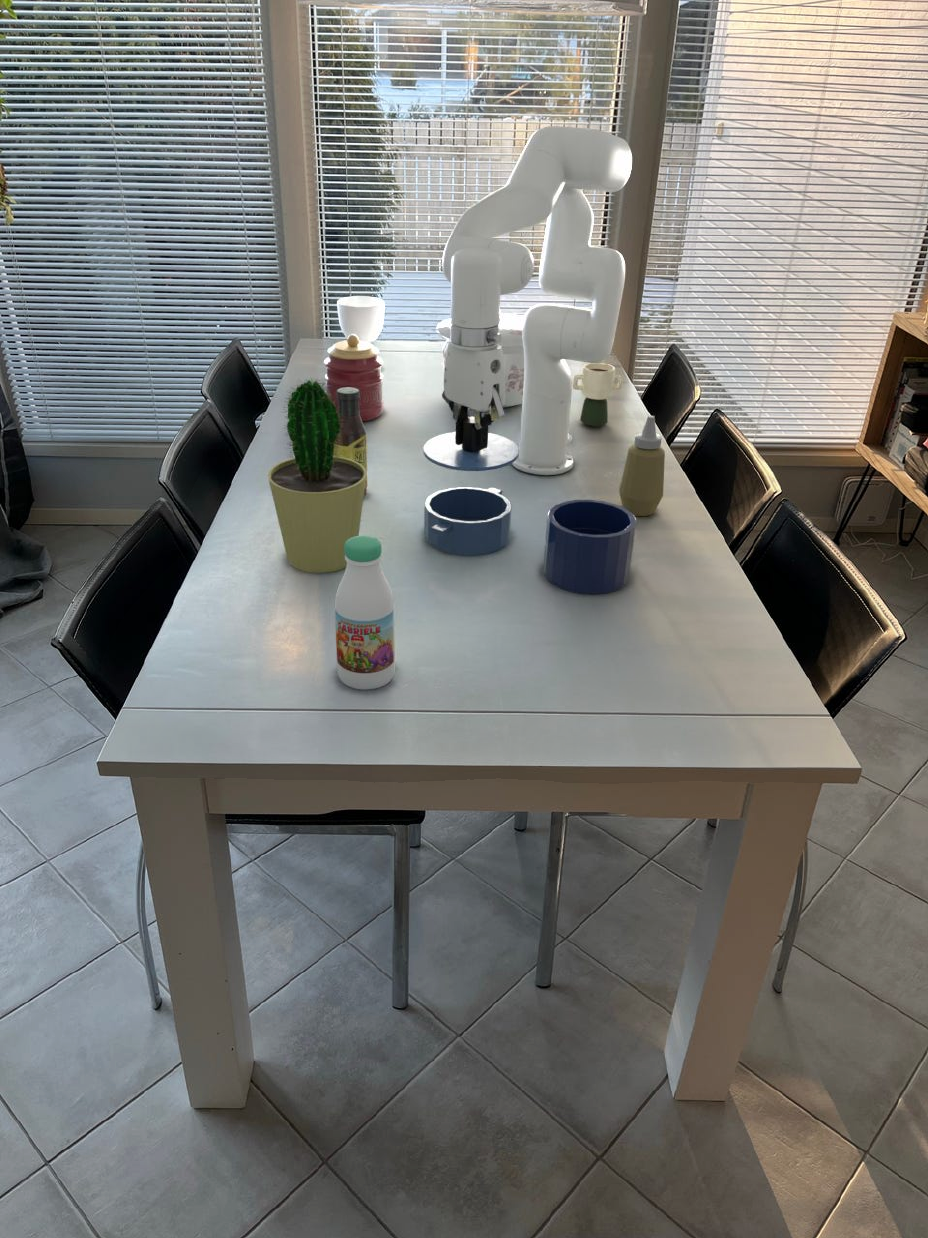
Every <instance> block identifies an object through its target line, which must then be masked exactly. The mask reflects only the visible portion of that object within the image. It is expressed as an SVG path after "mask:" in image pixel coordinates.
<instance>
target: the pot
mask: <svg viewBox="0 0 928 1238" xmlns="http://www.w3.org/2000/svg"><path fill="white" fill-rule="evenodd" d="M636 526H637V518H636V516H635V515H633V514H632V513H631V512H629V511H628V510H627V509H625V508H623V507H622V505H618V504H616V503H612V502H608V501H603V500H597V499H572V500H566V501H563V502H560V503H558V504H555V505H553V506H552V507H551V508H550V509H549V511H548V513H547V517H546V531H545V542H544V553H543V567H542V568H543V574H544V577H545V578H546V579H547V581H548V582H549V583H550V584H552V585H554V586H555V587H557V588H559V589H561V590H564V591H568V592H571V593H575V594H582V595H604V594H609V593H613V592H617V591H618V590H621V589H622V588H624V587H625V586H626V585H627V583H628V582H629V578H630V573H631V565H632V558H633V549H634V541H635V534H636Z"/></svg>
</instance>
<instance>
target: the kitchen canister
mask: <svg viewBox="0 0 928 1238" xmlns="http://www.w3.org/2000/svg"><path fill="white" fill-rule="evenodd" d="M326 353H327V354H328V356H327V357H326V358H325V359H324V361H323V364H324V366H325V367H326V373H325V375H324V379H325V387H327V388H328V389H327V390H326V389H325V390H326V391H325V392H326V393H327V392H328V393H327V394H326V395H328V396H329V393H330V395H331V394H332V393H333V394H332V395H331V396H330V397H329V398H331V397H332V398H331V399H330V400H331V401H332V403H334V406H335V404H336V406H335V407H336V408H337V411H336V412H337V413H338V399H337V390H338V389H340V388H346V387H352V388H356V389H358V390H359V394H360V398H359V411H360V413H359V414H360V417H361V420H362V422H366V421H371V420H375V419H377V418H379V417H381V416H382V414H383V411H384V404H385V403H384V398H383V397H384V395H383V394H384V393H383V389H384V387H383V379H384V374H383V373H382V368H381V367H383V364H384V361H383V359H382V358H381V357H380V356H378V355H379V353H380V350H379V348H377V347H376V346H374V345H373V344H372V343H371V342H370V343H368V342H364V341H359V338H358V337H357V336H356V335H350V336H348V338H346V340H342V341H341V340H340V341H337V342H336V343H334V344H333V345H332V346H330V347H328V349H327V352H326ZM334 401H335V402H334ZM338 415H339V414H338Z"/></svg>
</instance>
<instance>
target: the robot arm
mask: <svg viewBox="0 0 928 1238" xmlns="http://www.w3.org/2000/svg"><path fill="white" fill-rule="evenodd" d="M632 165H633V156H632V151H631V147H630V146H629V143H628V142H627V141H626V140H625V138H622V137H621V136H620V137H619V136H617V135H615V134H612V133H609V132H608V131H605V130H601V129H597V128H590V127H589V128H586V127H574V126H573V127H572V126H558V125H550V126H543V127H541V128H539V129H537V130H536V131H535V132H533V133H532V134H531V136H530V137H529V139H528V141H527V142H526V145H525V147H524V149H523V150H522V153H521V154H520V157H519V158H518V160H517V163H516V165H515V166H514V169H513V171H512V172H511V174H510V176H509V178H508V180H507V181H506V184H505V185H504V186H503V187H501V188H499V189H497V190H495V191H493V192H490V193H489V194H488V195H486V196H484V197H483V198H481V199H480V200H478V201H477V202H475V203H474V204H472V205H470V206H469V208H467V209H466V210H465V211H464V212H463V213H462V214H461V216H460V217H459V218H458V220H457V221H456V224H455V226H454V228H453V229H452V232H451V234H450V235H449V237H448V239H447V242H446V244H445V245H444V250H443V252H442V253H443V254H442V259H441V260H442V261H441V267H442V272H443V275H444V277H445V279H446V280H447V281H448V282H449V283H450V318H451V320H450V321H451V322H450V339H449V341H448V346H447V351H446V358H445V367H444V368H443V391H442V393H441V398H442V400H444V401H445V403H446V404H447V405H448V407H449V409H450V410H451V412H452V420H453V421H455V431H454V432H455V444H457V445H461V444H462V434H463V419H464V418H466V417H470V413H471V409H472V410H473V417H474V419H475V427H474V428H472V444H471V449H472V451H474V452H477V451H479V450H482V449H485V448H487V446H488V433H489V427H491V426H492V424H493V423H494V422H495V421H496V420H499V419H502V418H504V417H505V410H504V408H502V406H504V404H505V391H506V386H505V364H504V356H503V350H502V346H500V345H498V343H499V342H500V341H501V338H502V337H501V335H500V334H499V312H501V309H500V308H501V296H503V295H511V294H515V293H519V292H520V291H522V290H523V289H524V288H525V287H527V286H528V285H529V284H530V281H531V279H532V277H533V274H534V270H535V260H534V256H533V254H532V252H531V250H530V248H528V247H527V246H526V245H524V244H523V243H520V242H516V241H510V240H502V239H501V240H500V239H495V238H496V237H499V236H502V235H507V234H510V233H514V232H520V231H522V230H526V229H529V228H532V227H535V226H538V225H540V224H542V223H544V222H545V221H546V225H545V226H546V227H545V232H544V240H543V245H542V251H541V259H540V264H539V270H538V271H539V273H538V284H539V288H540V289H541V291H542V292H543V293H545V294H547V295H549V296H553V297H557V298H564V299H569V300H570V299H571V300H579V301H586V302H590V303H592V304H591V305H592V308H585V307H578V306H577V307H576V306H573V305H564V304H556V303H538V304H535V305H533V306H531V307H530V308H529V309H528V310H527V311H526V312H525V313H524V315H523V316H524V318H523V322H522V339H523V348H524V386H523V401H522V403H521V420H520V435H519V456H518V458H517V459H516V460H515V461H514V462H513V463H511V465H512V466H513V467H514V468H516V469H517V470H519V471H521V472H524V473H527V474H530V475H531V474H533V475H537V476H538V475H539V476H553V475H560V474H564V473H566V472H569V471H570V470H571V469H572V468H573V467H574V459H573V456H571V455H570V454H569V453H567V451H568V445H569V444H571V443H572V441H573V436H572V435H571V434H569V429H570V418H571V417H570V416H571V407H572V406H571V405H572V395H573V382H574V380H573V376H572V372H571V369H570V368H569V365H568V363H567V361H566V360H569V361H574V362H581V363H587V364H588V363H604V362H605V361H607V360H608V358H609V356H610V355H611V353H612V349H613V346H614V343H615V337H616V331H617V327H618V322H619V320H618V319H619V315H620V309H621V304H622V300H623V299H622V298H623V294H624V288H625V280H626V263H625V259H624V257H623V255H622V254H621V253H620V252H619V251H618V250H616V249H614V248H610V247H603V246H596V245H595V246H594V245H591V240H592V235H593V234H592V233H593V228H594V223H595V222H594V221H595V218H594V217H595V216H594V212H593V209H592V207H591V204H590V202H589V200H588V199H587V197H586V195H585V194H584V192H583V191H582V190H585V191H597V192H606V193H607V192H608V193H616V192H619V191H620V190H622V189H623V188H624V186H625V185H626V184H627V182H628V180H629V178H630V176H631V171H632Z"/></svg>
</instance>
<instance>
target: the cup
mask: <svg viewBox="0 0 928 1238" xmlns="http://www.w3.org/2000/svg"><path fill="white" fill-rule="evenodd" d="M336 307H337V308H336V309H337V317H338V322H339V326H340V330H341V332H342V334H343V335H344V337H345V338H346V339H347V338H348V336H350V335H356V336H357V337H358V338H359V341H364V342H368V343H370V344H371V343H372V342H374V341H376V340H377V339H378V337H379V336H380V334H381V332H382V329H383V326H384V320H385V301H384V300H383V299H382V298H379V297H376V296H371V295H370V296H369V295H351V296H345V297H341V298H339V299H338V300H337V301H336Z"/></svg>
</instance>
